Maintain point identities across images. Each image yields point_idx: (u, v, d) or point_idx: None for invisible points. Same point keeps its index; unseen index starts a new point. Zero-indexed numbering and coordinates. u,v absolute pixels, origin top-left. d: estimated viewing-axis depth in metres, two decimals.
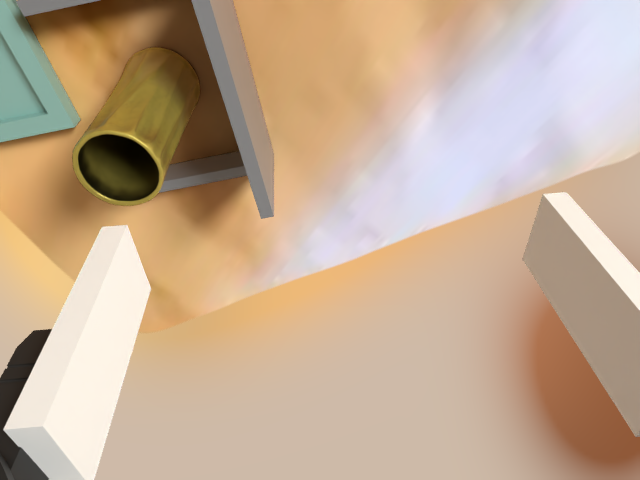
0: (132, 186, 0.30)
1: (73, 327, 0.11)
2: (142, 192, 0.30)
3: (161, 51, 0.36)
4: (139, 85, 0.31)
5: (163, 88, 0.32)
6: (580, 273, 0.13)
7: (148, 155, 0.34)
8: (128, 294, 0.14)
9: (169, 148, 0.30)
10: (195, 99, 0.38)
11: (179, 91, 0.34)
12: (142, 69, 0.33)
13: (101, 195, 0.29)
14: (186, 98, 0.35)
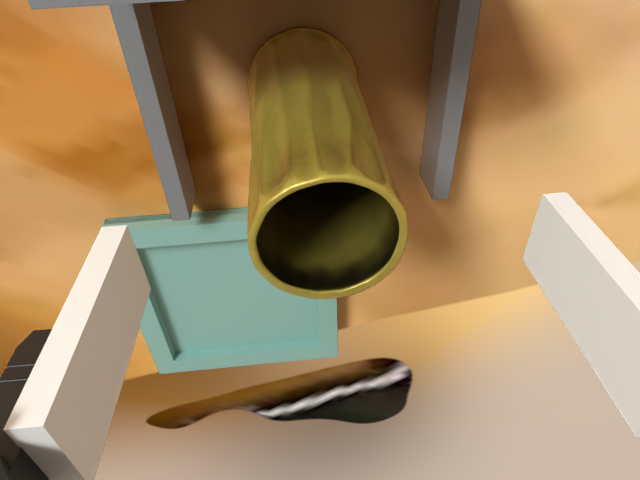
0: (384, 219, 0.17)
1: (73, 327, 0.11)
2: (394, 212, 0.16)
3: (251, 72, 0.25)
4: (252, 133, 0.20)
5: (269, 96, 0.20)
6: (580, 273, 0.13)
7: None
8: (128, 294, 0.14)
9: (335, 134, 0.16)
10: (327, 43, 0.23)
11: (288, 68, 0.21)
12: (251, 114, 0.22)
13: (371, 279, 0.16)
14: (303, 61, 0.21)
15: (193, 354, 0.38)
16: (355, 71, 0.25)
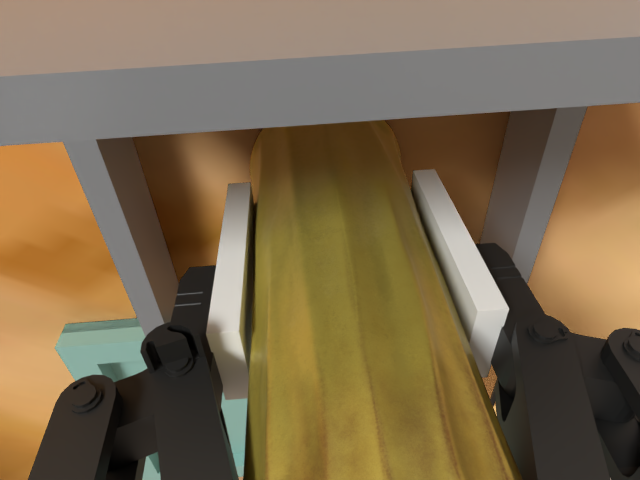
0: None
1: (234, 260, 0.12)
2: None
3: (255, 156, 0.18)
4: (254, 284, 0.13)
5: (280, 227, 0.13)
6: (431, 239, 0.14)
7: None
8: None
9: (402, 356, 0.09)
10: None
11: (309, 175, 0.14)
12: (254, 230, 0.15)
13: None
14: (332, 164, 0.14)
15: None
16: (398, 153, 0.18)
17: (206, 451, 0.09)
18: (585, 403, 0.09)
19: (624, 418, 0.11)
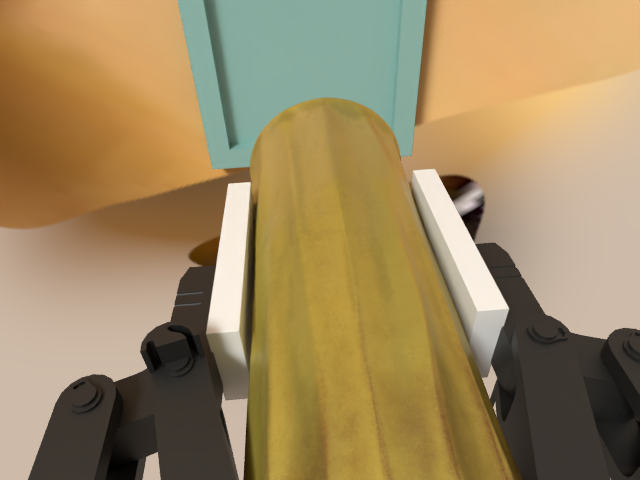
0: None
1: (235, 260, 0.12)
2: None
3: (255, 156, 0.18)
4: (254, 285, 0.13)
5: (280, 227, 0.13)
6: (431, 239, 0.14)
7: None
8: None
9: (402, 356, 0.09)
10: (363, 121, 0.16)
11: (309, 176, 0.14)
12: (254, 231, 0.15)
13: None
14: (332, 165, 0.14)
15: (251, 145, 0.34)
16: (398, 153, 0.18)
17: (206, 451, 0.09)
18: (585, 403, 0.09)
19: (624, 418, 0.11)
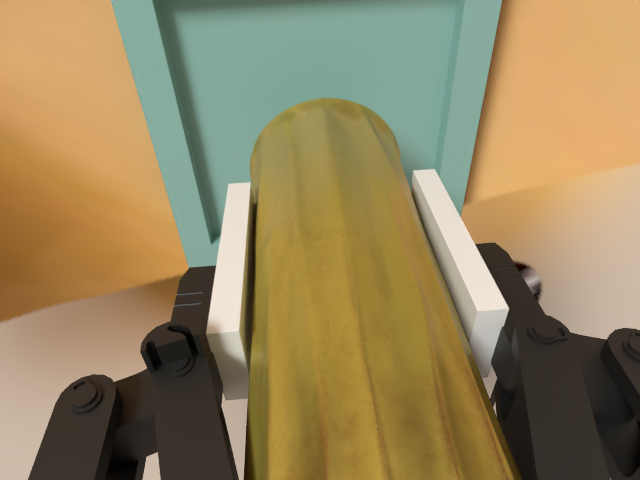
0: None
1: (235, 260, 0.12)
2: None
3: (255, 157, 0.18)
4: (254, 285, 0.13)
5: (280, 228, 0.13)
6: (431, 239, 0.14)
7: None
8: None
9: (402, 357, 0.09)
10: (363, 121, 0.16)
11: (310, 176, 0.14)
12: (254, 231, 0.15)
13: None
14: (332, 165, 0.14)
15: None
16: (398, 153, 0.18)
17: (206, 451, 0.09)
18: (585, 403, 0.09)
19: (624, 418, 0.11)
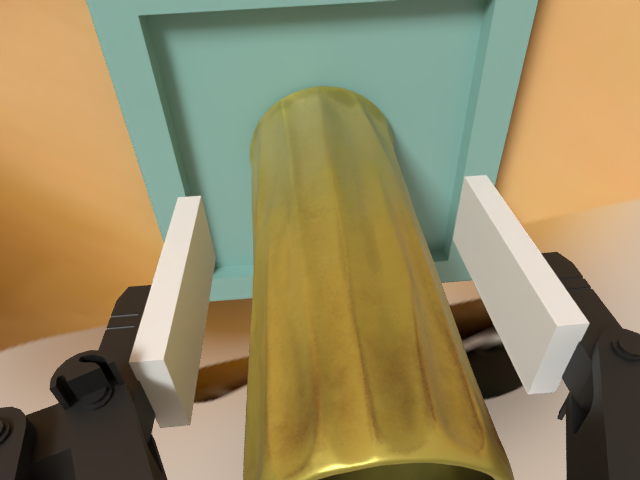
0: None
1: (171, 280, 0.12)
2: None
3: (254, 143, 0.18)
4: (254, 261, 0.13)
5: (278, 208, 0.13)
6: (489, 248, 0.14)
7: None
8: (203, 259, 0.15)
9: (388, 319, 0.10)
10: (357, 108, 0.17)
11: (306, 159, 0.14)
12: (254, 212, 0.16)
13: None
14: (327, 149, 0.14)
15: (239, 270, 0.23)
16: (392, 139, 0.19)
17: None
18: None
19: None
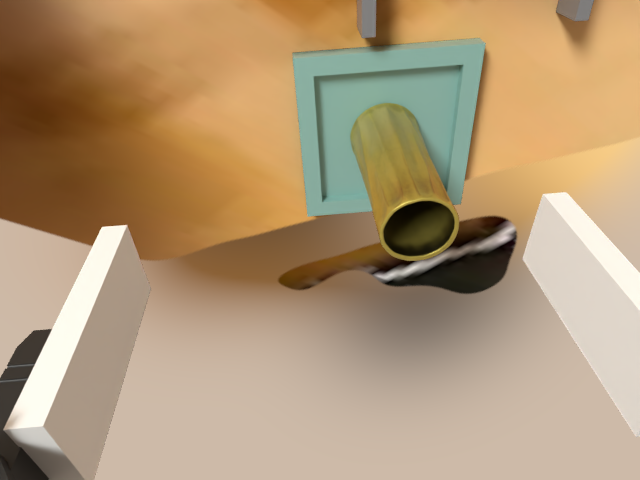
0: (444, 218, 0.32)
1: (73, 327, 0.11)
2: (451, 215, 0.31)
3: (354, 129, 0.40)
4: (366, 171, 0.35)
5: (375, 150, 0.35)
6: (580, 273, 0.13)
7: None
8: (128, 294, 0.14)
9: (420, 175, 0.31)
10: (403, 112, 0.38)
11: (384, 133, 0.36)
12: (359, 157, 0.37)
13: (438, 250, 0.31)
14: (393, 128, 0.36)
15: (337, 198, 0.44)
16: (418, 127, 0.40)
17: None
18: None
19: None
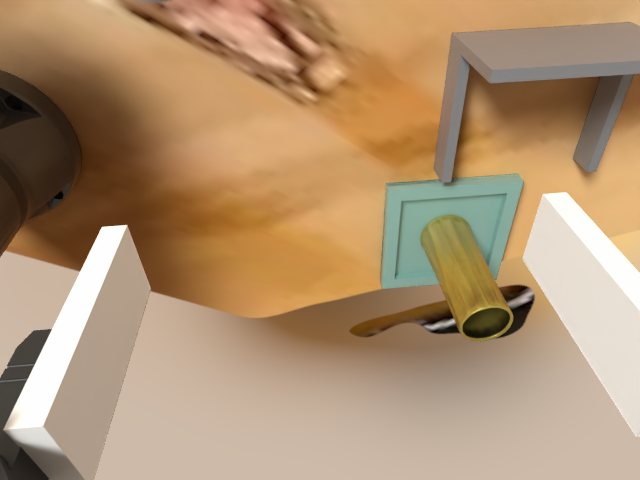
0: (500, 312, 0.47)
1: (73, 327, 0.11)
2: (506, 312, 0.45)
3: (424, 232, 0.54)
4: (442, 273, 0.49)
5: (448, 258, 0.49)
6: (580, 273, 0.13)
7: None
8: (128, 294, 0.14)
9: (486, 285, 0.45)
10: (461, 223, 0.53)
11: (453, 244, 0.50)
12: (432, 257, 0.52)
13: (497, 334, 0.46)
14: (459, 241, 0.50)
15: (405, 275, 0.59)
16: None
17: None
18: None
19: None
